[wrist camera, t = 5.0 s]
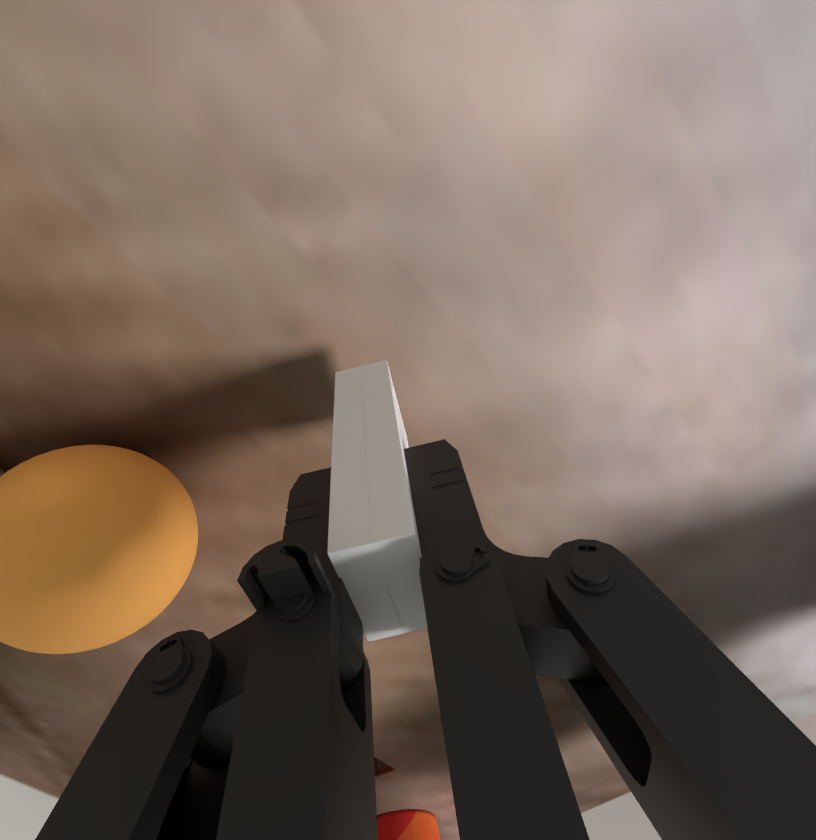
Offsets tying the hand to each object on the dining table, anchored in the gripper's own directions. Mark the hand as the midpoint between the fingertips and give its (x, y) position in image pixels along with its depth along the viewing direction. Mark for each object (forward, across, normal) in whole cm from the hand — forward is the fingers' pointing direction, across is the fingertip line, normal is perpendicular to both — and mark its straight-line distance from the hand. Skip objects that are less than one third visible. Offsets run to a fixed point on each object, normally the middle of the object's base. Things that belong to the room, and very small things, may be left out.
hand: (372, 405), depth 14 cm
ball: (-1, +9, +2) cm, 10 cm away
